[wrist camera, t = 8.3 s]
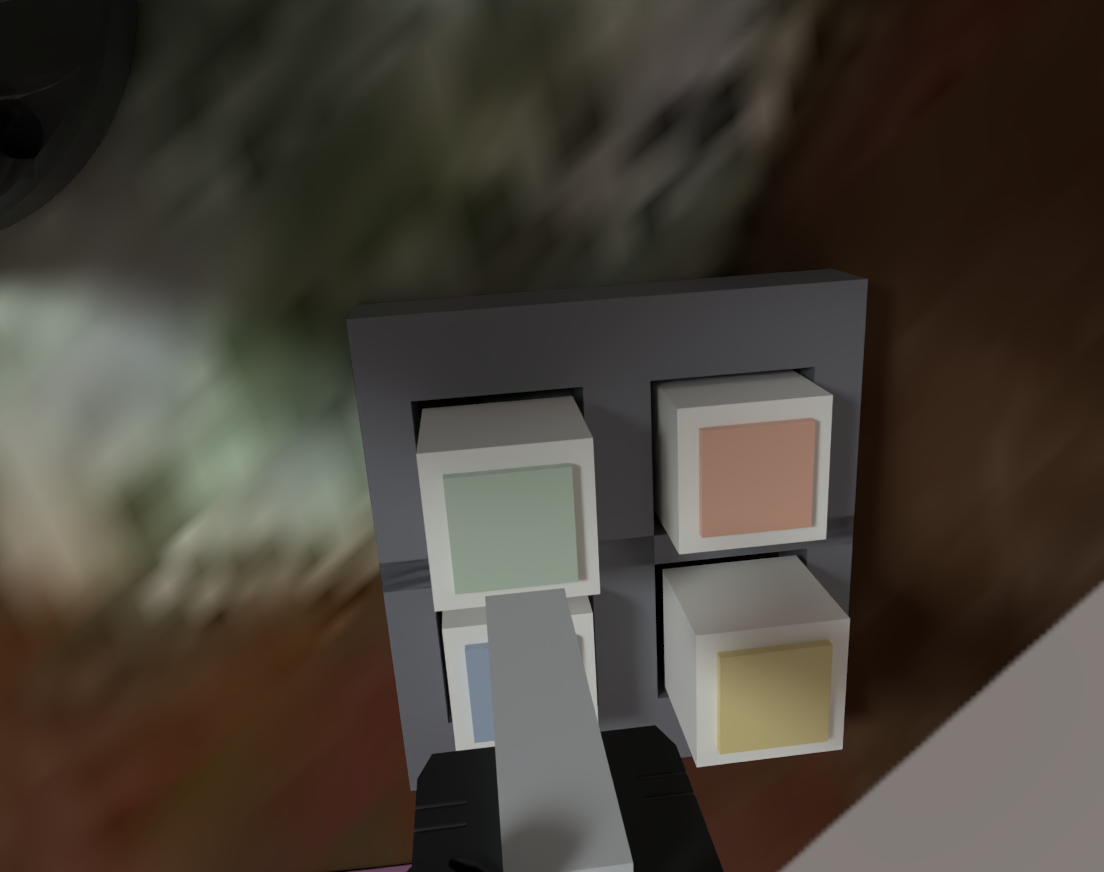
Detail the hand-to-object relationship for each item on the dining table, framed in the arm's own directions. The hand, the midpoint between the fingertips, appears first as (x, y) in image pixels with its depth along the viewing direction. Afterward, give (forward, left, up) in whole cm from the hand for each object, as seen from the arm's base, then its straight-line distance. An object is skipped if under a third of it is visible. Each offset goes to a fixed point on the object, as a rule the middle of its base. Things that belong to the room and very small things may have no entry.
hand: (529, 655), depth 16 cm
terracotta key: (0, +7, -12) cm, 14 cm away
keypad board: (+3, +4, -12) cm, 13 cm away
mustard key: (+6, +7, -10) cm, 14 cm away
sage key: (0, 0, -10) cm, 10 cm away
